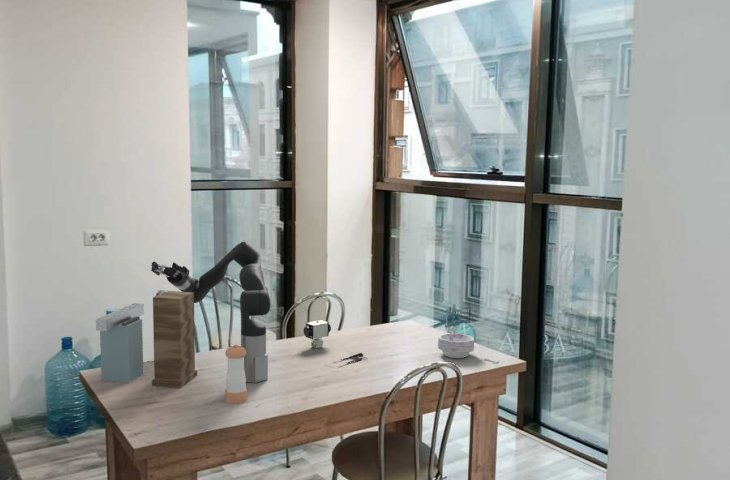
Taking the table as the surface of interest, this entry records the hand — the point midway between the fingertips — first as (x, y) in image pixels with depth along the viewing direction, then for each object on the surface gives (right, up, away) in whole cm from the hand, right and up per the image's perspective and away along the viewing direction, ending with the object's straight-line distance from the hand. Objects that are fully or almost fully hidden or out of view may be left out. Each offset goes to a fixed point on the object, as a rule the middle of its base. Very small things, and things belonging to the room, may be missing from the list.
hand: (163, 264), depth 262 cm
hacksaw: (+73, -41, +6) cm, 84 cm away
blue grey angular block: (-10, -41, -17) cm, 46 cm away
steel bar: (-9, -20, -19) cm, 30 cm away
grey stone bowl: (+118, -40, +19) cm, 126 cm away
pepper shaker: (+36, -45, -37) cm, 68 cm away
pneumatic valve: (+59, -37, +27) cm, 75 cm away
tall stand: (+10, -42, -19) cm, 47 cm away
